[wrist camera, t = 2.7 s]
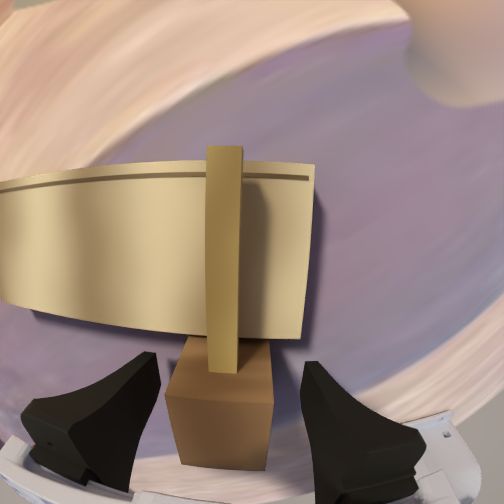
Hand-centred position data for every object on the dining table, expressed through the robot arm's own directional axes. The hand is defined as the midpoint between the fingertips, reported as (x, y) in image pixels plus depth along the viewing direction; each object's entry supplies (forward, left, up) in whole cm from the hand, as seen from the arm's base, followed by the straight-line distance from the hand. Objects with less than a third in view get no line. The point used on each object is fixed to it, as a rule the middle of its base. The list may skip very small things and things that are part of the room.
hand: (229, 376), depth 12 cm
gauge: (0, -4, -1) cm, 4 cm away
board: (+6, -6, -1) cm, 8 cm away
